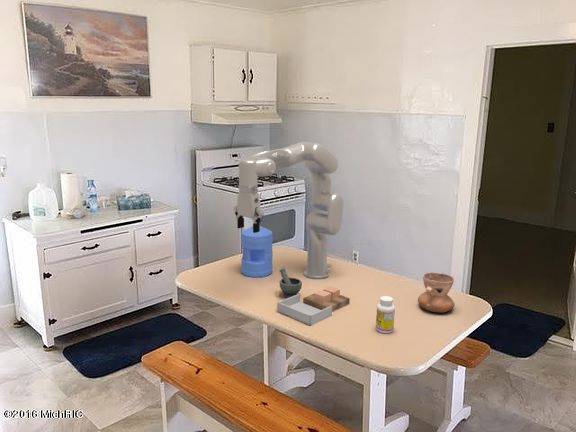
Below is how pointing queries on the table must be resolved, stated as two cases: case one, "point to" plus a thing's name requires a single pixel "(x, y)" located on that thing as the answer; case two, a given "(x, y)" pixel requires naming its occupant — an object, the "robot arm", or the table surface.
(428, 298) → the ceramic jug
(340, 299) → the board
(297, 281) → the mortar and pestle
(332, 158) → the robot arm
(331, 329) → the table surface
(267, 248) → the water jug
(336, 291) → the tile
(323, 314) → the tray
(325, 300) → the tile
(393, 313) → the supplement bottle
